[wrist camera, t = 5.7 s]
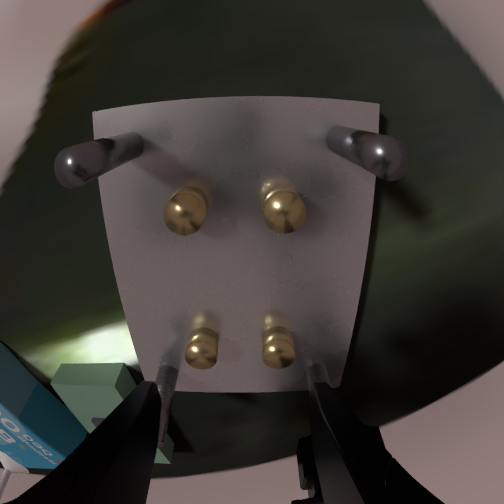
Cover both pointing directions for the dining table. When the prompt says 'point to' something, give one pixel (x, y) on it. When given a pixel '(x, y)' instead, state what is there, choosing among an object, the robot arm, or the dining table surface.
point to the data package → (33, 418)
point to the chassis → (237, 234)
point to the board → (99, 395)
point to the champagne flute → (9, 470)
